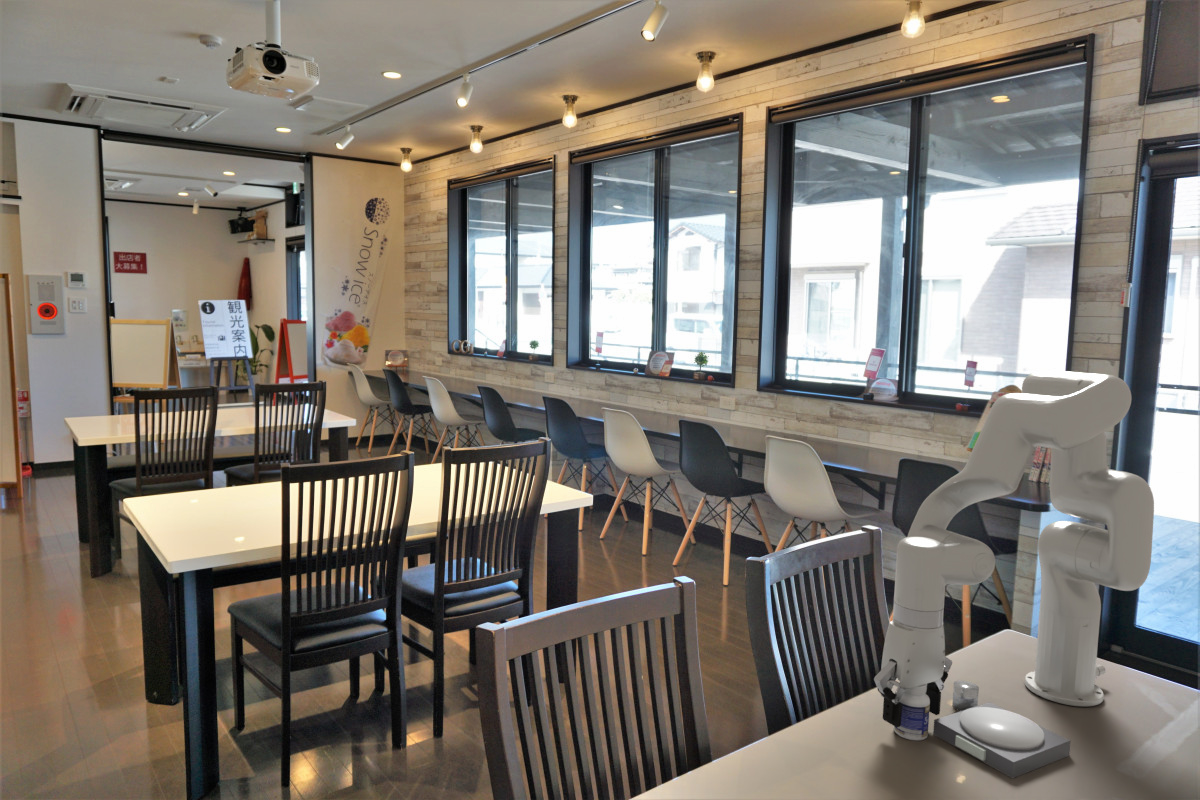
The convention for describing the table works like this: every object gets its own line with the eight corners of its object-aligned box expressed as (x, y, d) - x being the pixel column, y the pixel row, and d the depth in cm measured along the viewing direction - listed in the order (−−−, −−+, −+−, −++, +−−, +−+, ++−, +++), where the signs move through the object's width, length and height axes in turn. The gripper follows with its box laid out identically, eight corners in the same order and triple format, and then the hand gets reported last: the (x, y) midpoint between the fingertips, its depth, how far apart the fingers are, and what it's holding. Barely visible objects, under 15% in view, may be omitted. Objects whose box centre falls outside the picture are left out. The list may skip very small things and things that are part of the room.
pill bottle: (930, 743, 128) (934, 690, 127) (896, 739, 129) (899, 686, 128) (924, 726, 133) (927, 675, 132) (891, 723, 134) (894, 672, 133)
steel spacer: (962, 700, 143) (963, 678, 142) (982, 709, 139) (983, 688, 139) (947, 704, 141) (948, 683, 140) (967, 714, 137) (968, 692, 137)
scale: (988, 715, 137) (990, 697, 137) (1069, 755, 125) (1070, 735, 124) (931, 735, 130) (932, 715, 130) (1010, 779, 118) (1011, 757, 117)
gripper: (935, 599, 136) (928, 696, 138) (861, 615, 128) (855, 718, 130) (973, 614, 129) (966, 716, 131) (898, 631, 121) (891, 740, 123)
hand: (911, 716), depth 130 cm, fingers open, 8 cm apart
